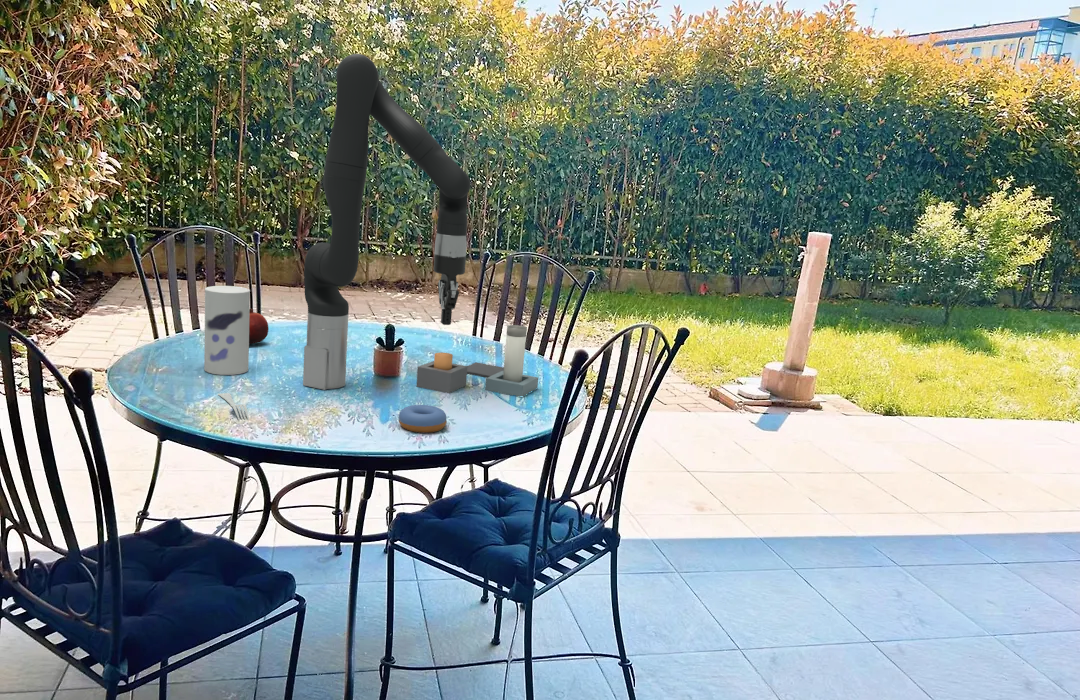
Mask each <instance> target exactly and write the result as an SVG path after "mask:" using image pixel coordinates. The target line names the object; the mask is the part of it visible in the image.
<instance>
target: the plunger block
mask: <svg viewBox="0 0 1080 700" xmlns="http://www.w3.org/2000/svg"><path fill="white" fill-rule="evenodd" d="M467 366H468V365H462V364H458V363H453V362H452V369H450V370H448V371H447V370H442V369H437V368H434V360H432V361H430V362H428V363H424V364H421V365H418V366H417V371H416V372H417V374H416V385H415V386H416V387H417V388H421V389H422V388H423V389H426V390H431V391H435V392H436V391H437V392H440V391H441V393H445V392H447V394H451V393H453V392H454V391H457V389H458V390H460V389H462V388H464V387H467V379H468V377H467V376H468V374H467ZM461 387H462V388H461ZM459 388H460V389H459ZM452 391H453V392H452ZM450 392H451V393H450Z"/></svg>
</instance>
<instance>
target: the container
mask: <svg viewBox="0 0 1080 700" xmlns="http://www.w3.org/2000/svg"><path fill="white" fill-rule="evenodd" d="M250 292H251V289H249V288H246V287H242V286H236V285H235V286H233V285H213V286H212V285H211V286H207V287H205V288H204V350H203V351H204V352H203V353H204V357H203V359H204V365H203V368H204V371H205V372H206V373H208V374H213V375H221V376H231V375H240V374H245V373H246V372H248V371H249V364H250V362H249V356H250V355H249V354H250V353H249V351H250V348H249V347H250V344H249V313H250V309H251V308H250V306H251V305H250V304H251V293H250Z"/></svg>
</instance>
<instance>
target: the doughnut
mask: <svg viewBox="0 0 1080 700" xmlns="http://www.w3.org/2000/svg"><path fill="white" fill-rule="evenodd" d="M398 423H399V425H400V426H401V427H402V428H404V429H405V430H407V431H409V432H413V433H421V434H422V433H425V434H428V433H436V432H439V431H441V430H443V429H444V428H445V426H447V413H446V412H445V411H444V410H442V409H441V408H439V407H437V406H434V405H428V404H414V405H408V406H405V407H404V408H402V409H401V410H400V411H399V413H398Z"/></svg>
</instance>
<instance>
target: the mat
mask: <svg viewBox="0 0 1080 700" xmlns="http://www.w3.org/2000/svg"><path fill="white" fill-rule="evenodd" d="M466 366H467V375H470V376H471V375H472V376H477V377H483V378H488V377H490V376H492V375H494V374H496V373H499V372H501V371H504V366H497V365H493V364H488V363H482V362H473V363H471V364H468V365H466Z"/></svg>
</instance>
